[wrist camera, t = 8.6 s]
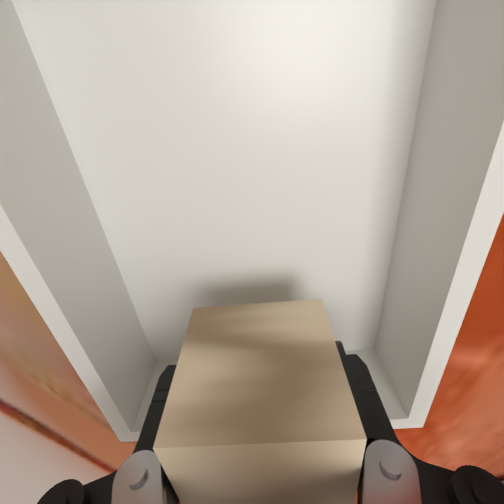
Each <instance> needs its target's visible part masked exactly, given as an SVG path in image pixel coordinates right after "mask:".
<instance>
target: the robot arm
mask: <svg viewBox="0 0 504 504" xmlns="http://www.w3.org/2000/svg"><path fill="white" fill-rule="evenodd" d="M335 343H336V346H337V349H338V352H339V355H340V358H341V361H342V364H343V368H344V371H345V374H346V377H347V380H348V383H349V386H350V389H351V392H352V395H353V398H354V401H355V404H356V407H357V410H358V413H359V416H360V420H361V423H362V426H363V429H364V432H365V435H366V438H367V441H366V446H365V451H364V457H363V462H362V467H361V472H360V477H359V482H358V487H357V499H356V504H504V484H503V483H502V482H501V481H500V480H499V479H497V478H496V477H495V476H493V475H492V474H491V473H489V472H487V471H486V470H483V469H481V468H479V467H476V466H470V465H465V466H461V467H459V468H458V469H457V470H456V471H451V470H448V469H445V468H442V467H438V466H435V465H432V464H429V463H426V462H423V461H421V460H419V459H417V458H416V457H414V456H413V455H412V454H410V453H409V452H408V451H407V450H406V449H405V448H404V447H403V446H402V444H401V443H400V442H399V440H398V439H397V437H396V435H395V433H394V430H393V428H392V425H391V423H390V420H389V418H388V416H387V413H386V411H385V408H384V406H383V403H382V401H381V399H380V396H379V394H378V392H377V389H376V387H375V384H374V382H373V381H372V377H371V374H370V372H369V370H368V367H367V365H366V364H365V363H364V362H363V361H362V359H361V358H360V357H359V356H358V355H357V354H348V355H346V353H345V350H344V347H343V344H342V342H341V341H335ZM179 355H180V354H179ZM178 359H179V357H178ZM177 362H178V360H177ZM176 366H177V364H176V365H168V366H167V367H166V368H165V370H164V371H163V372H162V374H161V375H160V376H159V379H158V382H157V385H156V388H155V392H154V394H153V397H152V400H151V403H150V406H149V409H148V412H147V415H146V418H145V421H144V424H143V427H142V430H141V433H140V436H139V439H138V442H137V445H136V447H135V450H134V452H133V453H132V455H131V456H129V457H128V458H127V459H126V460H125V461H124V462H123V463H122V465H121V466H120V467H119V469H118V470H116V471H115V472H113V473H111V474H109V475H107V476H105V477H102V478H100V479H98V480H95V481H93V482H90V483H88V484H86V485H82V484H81V483H80V482H79V481H77V480H74V479H69V480H64V481H62V482H60V483H58V484H56V485H55V486H54V487H52V488H51V489H50V490H49V491H47V492H46V494H45V495H44V496H43V497H42V498H41V499H40V500H39V502H38V503H37V504H181V503H180V500H179V498H178V496H177V494H176V492H175V490H174V488H173V486H172V484H171V482H170V481H169V479H168V477H167V475H166V473H165V471H164V469H163V467H162V465H161V463H160V461H159V460H158V458H157V456H156V454H155V452H154V450H153V446H154V442H155V439H156V436H157V432H158V429H159V425H160V422H161V418H162V415H163V411H164V408H165V404H166V401H167V397H168V394H169V390H170V387H171V383H172V380H173V376H174V373H175V369H176Z"/></svg>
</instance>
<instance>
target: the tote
mask: <svg viewBox="0 0 504 504" xmlns="http://www.w3.org/2000/svg"><path fill="white" fill-rule="evenodd" d="M503 212H504V0H0V251H1V253H2V254H3V256H4V257H5V259H6V261H7V262H8V264H9V265H10V267H11V269H12V270H13V272H14V273H15V275H16V276H17V278H18V280H19V281H20V283H21V284H22V286H23V288H24V289H25V291H26V292H27V294H28V296H29V297H30V299H31V300H32V302H33V304H34V305H35V307H36V308H37V310H38V312H39V313H40V315H41V316H42V318H43V319H44V321H45V323H46V324H47V326H48V327H49V329H50V331H51V332H52V334H53V335H54V337H55V339H56V340H57V342H58V343H59V345H60V347H61V348H62V350H63V351H64V353H65V355H66V356H67V358H68V359H69V361H70V362H71V364H72V366H73V367H74V369H75V370H76V372H77V374H78V375H79V377H80V378H81V380H82V382H83V383H84V385H85V386H86V388H87V390H88V391H89V393H90V394H91V396H92V398H93V399H94V401H95V402H96V404H97V405H98V407H99V409H100V410H101V412H102V413H103V415H104V417H105V418H106V420H107V421H108V423H109V425H110V426H111V428H112V429H113V431H114V433H115V434H116V436H117V437H118V439H119V441H120V442H129V441H138V439H139V436H140V433H141V430H142V427H143V424H144V421H145V418H146V415H147V412H148V409H149V406H150V403H151V400H152V397H153V394H154V392H155V388H156V385H157V382H158V379H159V376H160V375H161V374H162V372H163V371H164V370H165V368H166V367H167V366H168V365H176V364H177V360H178V357H179V354H180V352H181V348H182V345H183V341H184V338H185V335H186V331H187V328H188V324H189V321H190V317H191V314H192V310H193V308H200V307H214V306H228V305H243V304H257V303H271V302H285V301H299V300H313V299H321V300H322V303H323V306H324V309H325V312H326V316H327V319H328V322H329V325H330V328H331V331H332V334H333V337H334V340H335V341H341V342H342V344H343V347H344V350H345V353H346V355H348V354H357V355H358V356H359V357H360V358H361V359H362V361H363V362H364V363H365V364H366V365H367V367H368V370H369V372H370V374H371V377H372V381H373V382H374V384H375V387H376V389H377V392H378V394H379V396H380V399H381V401H382V403H383V406H384V408H385V411H386V413H387V416H388V418H389V420H390V423H391V425H392V428H393V429H399V428H419V427H423V425H424V422H425V420H426V417H427V414H428V412H429V409H430V406H431V404H432V401H433V398H434V396H435V393H436V391H437V388H438V385H439V383H440V380H441V377H442V375H443V372H444V369H445V367H446V364H447V361H448V359H449V356H450V353H451V351H452V348H453V345H454V343H455V340H456V337H457V335H458V332H459V329H460V327H461V324H462V321H463V319H464V316H465V313H466V311H467V308H468V305H469V303H470V300H471V297H472V295H473V292H474V289H475V287H476V284H477V281H478V279H479V276H480V273H481V271H482V268H483V265H484V263H485V260H486V257H487V255H488V252H489V249H490V247H491V244H492V241H493V239H494V236H495V233H496V231H497V228H498V225H499V223H500V220H501V218H502V215H503Z"/></svg>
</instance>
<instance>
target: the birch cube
mask: <svg viewBox="0 0 504 504" xmlns="http://www.w3.org/2000/svg"><path fill="white" fill-rule="evenodd" d="M366 441H367V438H366V435H365V432H364V429H363V426H362V423H361V420H360V416H359V413H358V410H357V407H356V404H355V401H354V398H353V395H352V392H351V389H350V386H349V383H348V380H347V377H346V374H345V371H344V368H343V364H342V361H341V358H340V355H339V352H338V349H337V346H336V343H335V340H334V337H333V334H332V331H331V328H330V325H329V322H328V319H327V316H326V312H325V309H324V306H323V303H322V300H321V299H313V300H299V301H285V302H271V303H257V304H243V305H228V306H214V307H200V308H193V310H192V314H191V317H190V321H189V324H188V328H187V331H186V335H185V338H184V341H183V345H182V348H181V352H180V355H179V359H178V362H177V366H176V369H175V373H174V376H173V380H172V383H171V387H170V390H169V394H168V397H167V401H166V404H165V408H164V411H163V415H162V418H161V422H160V425H159V429H158V432H157V436H156V439H155V442H154V446H153V450H154V452H155V454H156V456H157V458H158V460H159V461H160V463H161V465H162V467H163V469H164V471H165V473H166V475H167V477H168V479H169V481H170V482H171V484H172V486H173V488H174V490H175V492H176V494H177V496H178V498H179V500H180V502H181V504H354V503H355V497H356V492H357V487H358V482H359V477H360V472H361V467H362V462H363V457H364V451H365V446H366Z"/></svg>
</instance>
